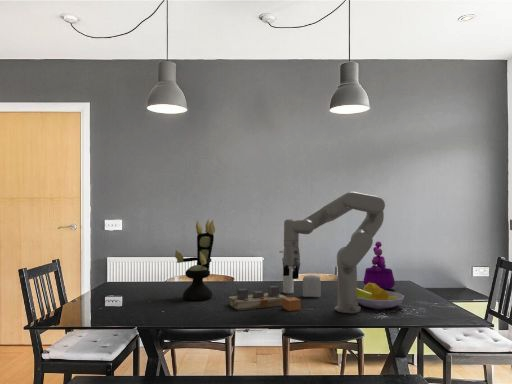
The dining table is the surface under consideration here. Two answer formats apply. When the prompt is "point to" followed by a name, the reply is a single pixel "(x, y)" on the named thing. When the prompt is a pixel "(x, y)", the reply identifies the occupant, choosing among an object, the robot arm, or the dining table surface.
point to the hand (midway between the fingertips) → (290, 277)
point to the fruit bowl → (377, 297)
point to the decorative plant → (379, 271)
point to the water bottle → (288, 281)
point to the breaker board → (256, 302)
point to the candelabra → (199, 264)
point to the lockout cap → (291, 304)
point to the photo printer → (311, 286)
